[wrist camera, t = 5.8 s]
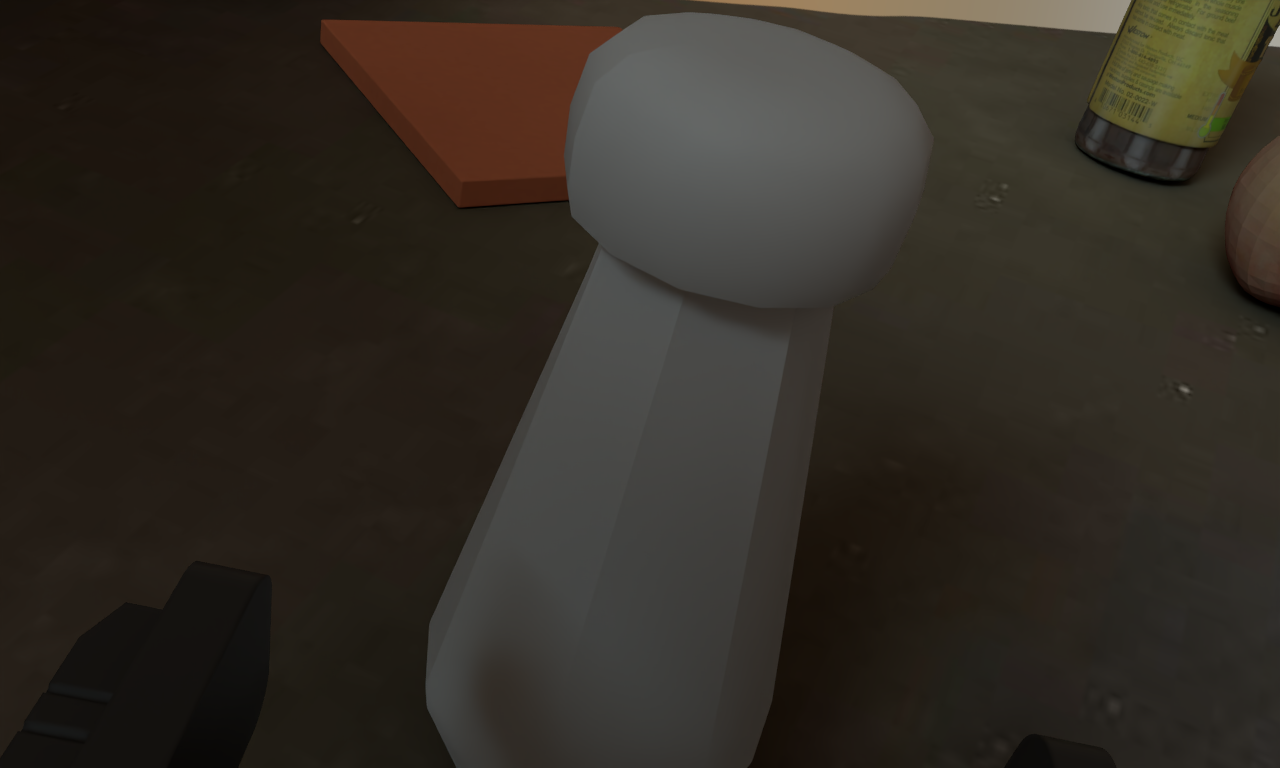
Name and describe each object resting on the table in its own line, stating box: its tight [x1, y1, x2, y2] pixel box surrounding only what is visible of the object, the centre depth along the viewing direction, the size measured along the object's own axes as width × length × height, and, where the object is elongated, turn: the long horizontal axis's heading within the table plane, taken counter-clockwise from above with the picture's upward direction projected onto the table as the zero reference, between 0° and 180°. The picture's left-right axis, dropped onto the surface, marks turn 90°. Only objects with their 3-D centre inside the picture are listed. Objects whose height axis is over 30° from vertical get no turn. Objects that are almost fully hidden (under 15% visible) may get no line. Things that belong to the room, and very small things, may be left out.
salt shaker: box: [425, 12, 934, 768], centre depth 16 cm, size 6×6×13 cm
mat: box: [320, 20, 623, 208], centre depth 44 cm, size 14×14×1 cm
